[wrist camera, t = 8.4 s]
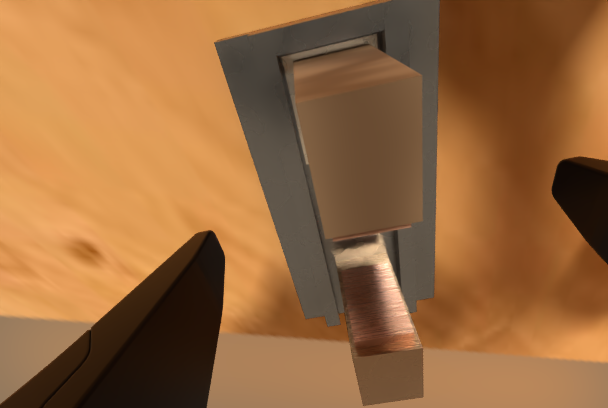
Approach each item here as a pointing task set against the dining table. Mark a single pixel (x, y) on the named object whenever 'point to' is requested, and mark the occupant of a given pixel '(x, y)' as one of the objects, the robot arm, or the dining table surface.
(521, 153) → the dining table surface
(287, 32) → the rail
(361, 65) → the tan wooden block
